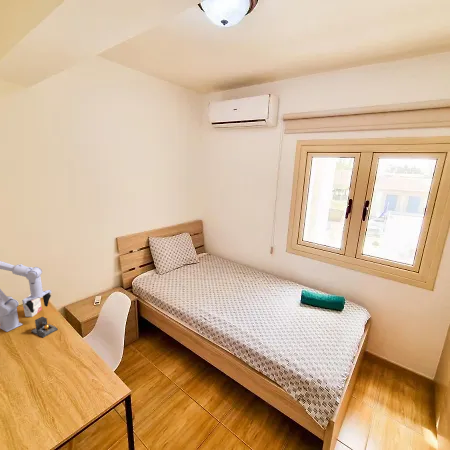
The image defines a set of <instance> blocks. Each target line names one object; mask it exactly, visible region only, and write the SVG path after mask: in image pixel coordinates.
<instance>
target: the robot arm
mask: <svg viewBox="0 0 450 450" xmlns="http://www.w3.org/2000/svg"><path fill="white" fill-rule="evenodd" d="M0 270H4V271H8V272H9V271H10V272H12V274H13V275H16V276H21V277H25V278H26V280H28V285H29V290H30V295H31V296H29V295H28V296H29V297H28V296H27V297H25V298H26V299H25V298H23V299H22V300H21V302H22V301H23V302H22V304H23V303H24V304H26V305H27V306H28V308H29V309H30V312H32V313H33V312H34V309H33V302H32V300H34V299H37V298H40V299H41V298H42V299H43V306H44V307H46V308H47V307H48V305H49V301H50V299H51V297H52V295H51V294H52V289H47V290H43V283H42V277H41V275H42V274H43V270H42V269H41V268H40V267H38V266H35V267H32V266H26V265H24V264H22V263H20V264H16V265H14V264H11V263H8V262H5V261H1V260H0ZM18 307H19V301H18V300H17V299H14V298H13V297H12V296H7V295H6V294H5V292H4V291H3V290H2V289H1V288H0V329H1V330H3V331H4V332H6V333H7V332H10V331H12V330H14V329H16V328H19V327H20V326H23V323H21V322H20V321H19V315H18Z"/></svg>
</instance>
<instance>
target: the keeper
mask: <svg viewBox="0 0 450 450" xmlns="http://www.w3.org/2000/svg"><path fill="white" fill-rule="evenodd" d="M49 324H50V323H47V324H46V325H44V328H45V330H44V331H47V330H49V329H50V328H49ZM58 330H59V329H58V327H56V330H54V331H52V332H50V333H48V334H46V335H43V334H41V333H39V332H38V330H37V329H36V328H33V329H32V330H31V331H30V332H31V334H34V335H36V336H39V337H41V338H45V337H47V336H49V335H51V334H52V333H55V332H56V331H58Z"/></svg>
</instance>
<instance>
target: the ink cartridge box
mask: <svg viewBox="0 0 450 450" xmlns="http://www.w3.org/2000/svg"><path fill="white" fill-rule="evenodd" d="M29 296H31V294H29V295H28V296H27V297H29ZM27 297H25V298H24V299H26V298H27ZM21 302H22V307H23V312H24V313H23V314H24V316H25V318H27V317H28V318H33V317H34V316H36V315H38V313H40V312H41V311H43V308H42V301H41V298H37V299H34V300H32V302H33V309H34V312H33V313H32V312H30V309H29V308H28V306H27V305H26V304H24V303H23V301H22V300H21Z"/></svg>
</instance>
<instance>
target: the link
mask: <svg viewBox="0 0 450 450" xmlns="http://www.w3.org/2000/svg"><path fill="white" fill-rule="evenodd" d="M47 319H48V318H47V317H44V316H41V317H38V318H36V319H35V320H34V323H35V329H37V330H38V332H39V333H41V334H43V335H46V334H48V333H50V332H52V331H54V330H56V328H57V326H54V325H53V324H50V323H48V320H47ZM46 324H49V328H50V329H49V330H47V331H44V330H45V328H44V325H46ZM56 331H57V330H56ZM54 332H55V331H54Z"/></svg>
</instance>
